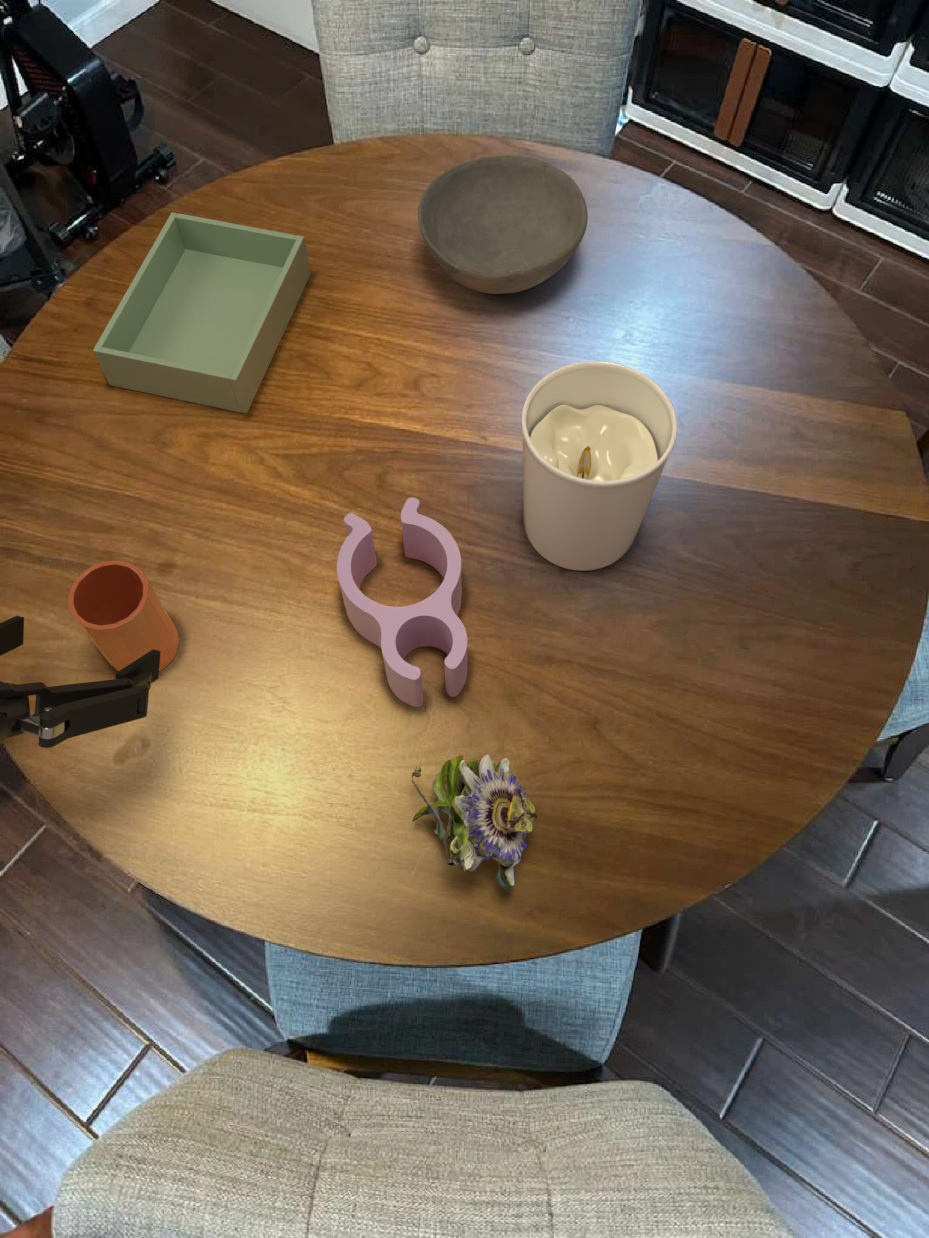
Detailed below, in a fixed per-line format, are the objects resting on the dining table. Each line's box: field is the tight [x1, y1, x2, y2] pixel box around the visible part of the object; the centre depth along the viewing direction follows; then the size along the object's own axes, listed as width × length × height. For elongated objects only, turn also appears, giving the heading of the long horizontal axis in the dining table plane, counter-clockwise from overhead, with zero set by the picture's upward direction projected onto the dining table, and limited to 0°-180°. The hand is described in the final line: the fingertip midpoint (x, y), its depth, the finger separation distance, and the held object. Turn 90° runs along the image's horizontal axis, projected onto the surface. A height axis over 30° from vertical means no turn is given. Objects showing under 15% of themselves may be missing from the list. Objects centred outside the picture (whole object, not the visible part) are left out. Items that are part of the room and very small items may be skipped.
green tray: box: [92, 211, 312, 415], centre depth 118 cm, size 18×24×6 cm
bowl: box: [417, 155, 589, 295], centre depth 122 cm, size 21×21×8 cm
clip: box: [336, 496, 468, 708], centre depth 99 cm, size 20×12×7 cm, turn 17°
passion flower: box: [411, 754, 538, 890], centre depth 89 cm, size 11×11×12 cm
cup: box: [67, 559, 180, 672], centre depth 96 cm, size 7×7×11 cm
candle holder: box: [520, 360, 678, 572], centre depth 99 cm, size 15×15×18 cm
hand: (87, 646), depth 89 cm, fingers open, 13 cm apart
